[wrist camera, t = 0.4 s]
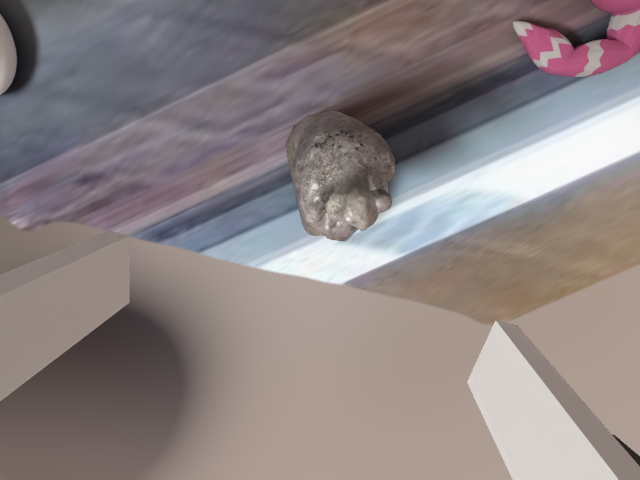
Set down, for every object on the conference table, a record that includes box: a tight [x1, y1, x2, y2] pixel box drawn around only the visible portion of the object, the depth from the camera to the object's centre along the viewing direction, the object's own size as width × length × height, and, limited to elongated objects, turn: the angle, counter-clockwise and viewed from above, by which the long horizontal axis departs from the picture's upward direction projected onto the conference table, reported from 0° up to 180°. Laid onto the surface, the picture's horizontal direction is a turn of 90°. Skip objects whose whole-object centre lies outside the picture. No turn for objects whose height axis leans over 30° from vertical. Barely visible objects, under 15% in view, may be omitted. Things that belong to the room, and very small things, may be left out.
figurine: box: [286, 111, 395, 241], centre depth 28 cm, size 13×12×18 cm
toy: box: [513, 0, 640, 77], centre depth 27 cm, size 11×9×10 cm
